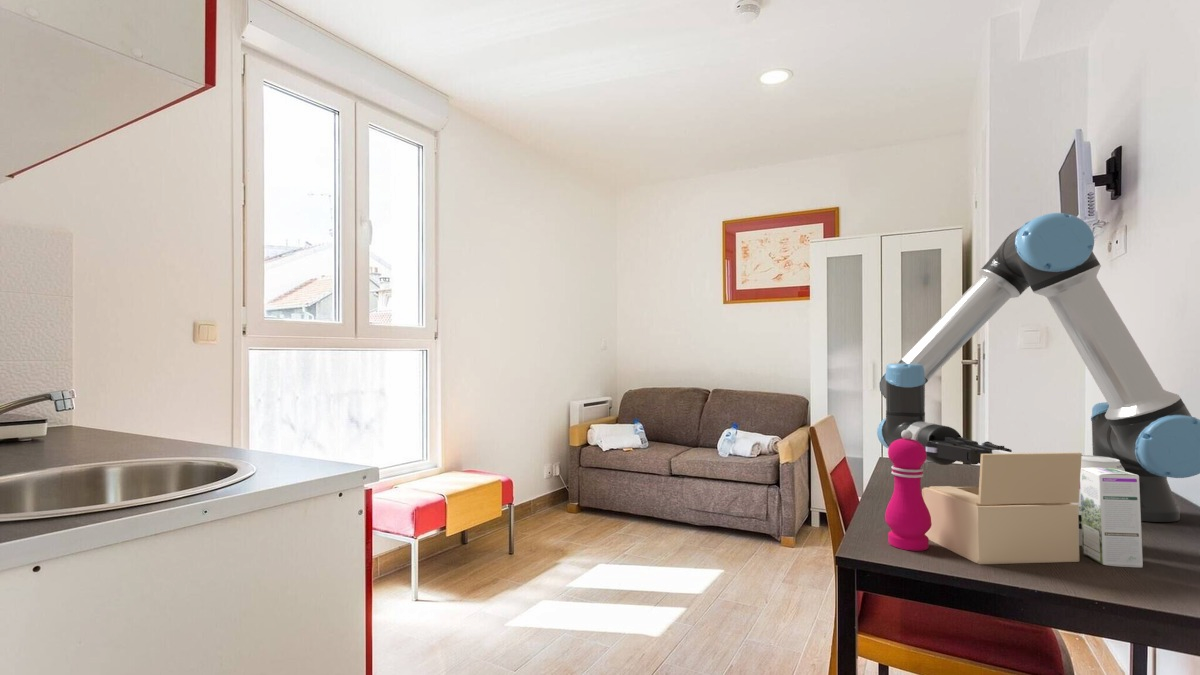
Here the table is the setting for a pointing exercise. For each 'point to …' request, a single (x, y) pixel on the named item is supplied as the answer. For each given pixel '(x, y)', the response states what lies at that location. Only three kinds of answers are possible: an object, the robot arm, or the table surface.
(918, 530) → the pepper mill
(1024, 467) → the long flap
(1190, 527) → the table surface
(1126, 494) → the syrup box
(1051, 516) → the carton
